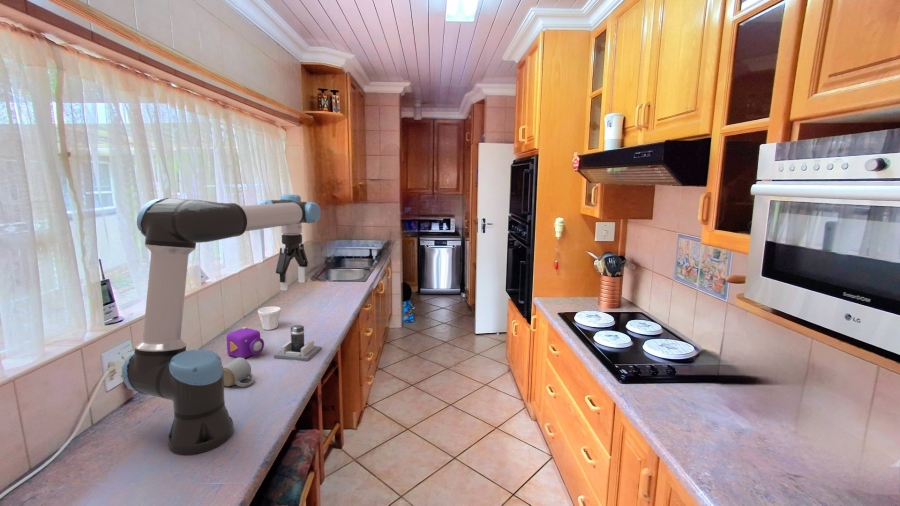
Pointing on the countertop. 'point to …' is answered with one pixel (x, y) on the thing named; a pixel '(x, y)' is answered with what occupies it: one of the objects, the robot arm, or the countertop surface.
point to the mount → (304, 355)
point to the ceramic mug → (237, 372)
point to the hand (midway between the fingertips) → (293, 286)
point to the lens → (297, 338)
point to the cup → (269, 317)
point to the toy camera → (244, 343)
